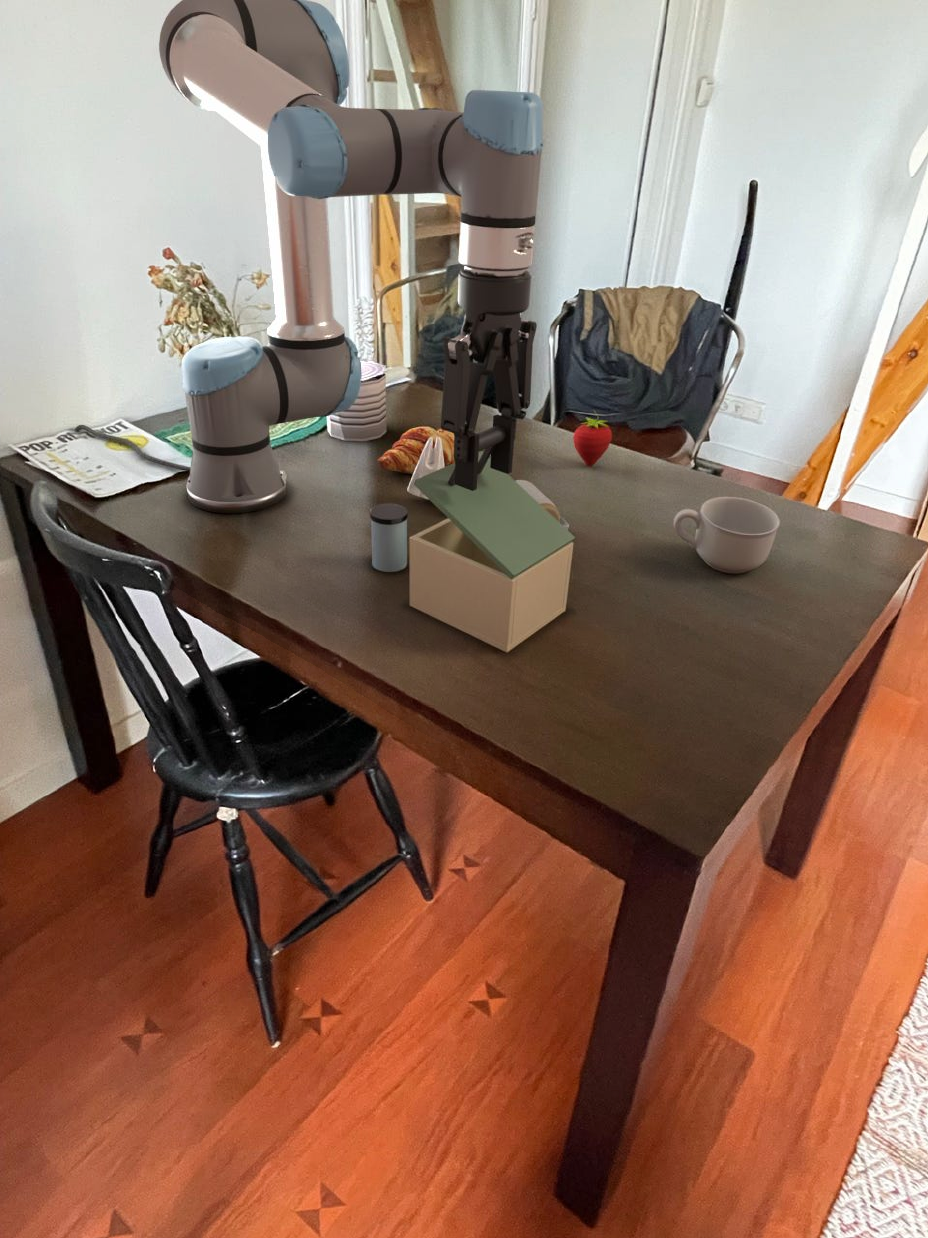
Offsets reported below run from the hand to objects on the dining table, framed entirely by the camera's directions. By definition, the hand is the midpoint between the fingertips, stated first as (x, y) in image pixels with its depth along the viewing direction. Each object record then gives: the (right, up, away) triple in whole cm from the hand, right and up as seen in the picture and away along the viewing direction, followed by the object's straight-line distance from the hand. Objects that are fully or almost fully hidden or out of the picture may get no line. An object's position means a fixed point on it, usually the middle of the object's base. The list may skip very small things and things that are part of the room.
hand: (483, 477), depth 97 cm
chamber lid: (+1, -4, +1) cm, 4 cm away
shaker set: (-5, +1, +34) cm, 34 cm away
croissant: (-8, +11, +48) cm, 50 cm away
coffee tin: (-13, -9, +18) cm, 23 cm away
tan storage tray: (+1, -15, +9) cm, 17 cm away
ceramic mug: (+8, -4, +27) cm, 28 cm away
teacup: (+34, -9, +22) cm, 41 cm away
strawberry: (+20, +10, +50) cm, 55 cm away
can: (-23, +19, +61) cm, 68 cm away
